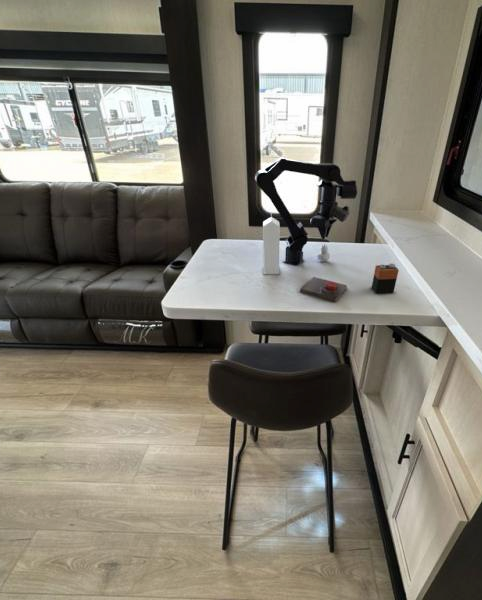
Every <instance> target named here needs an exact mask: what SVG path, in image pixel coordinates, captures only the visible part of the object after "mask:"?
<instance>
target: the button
mask: <svg viewBox="0 0 482 600" xmlns="http://www.w3.org/2000/svg"><path fill="white" fill-rule="evenodd" d="M336 283H337V282H336ZM336 283H335V281H332V282H326V287H325V288H326V289H327V290H336V286H337V284H336Z"/></svg>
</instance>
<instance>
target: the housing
mask: <svg viewBox="0 0 482 600" xmlns="http://www.w3.org/2000/svg"><path fill="white" fill-rule="evenodd" d="M326 282H333V281H332V280H328V279H325V278H320V277H316V276H312V278H310V280H308V281H307V282H305V284H304V285H302V286H301V287H300V288H299V293H302V294H305V295H309V296H312V297H316V298H319V299H323V300H326V301H329V302H333V303H337V301H338V299H340V297H341V296H342V295H343V294H344V293H345V291H346V290H347V287H348V285H347V284H344V283H340V282H335V281H334V282H335V283H336V284H337V286H336V290H327V289H326V288H325V287H326Z"/></svg>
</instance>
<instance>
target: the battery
mask: <svg viewBox="0 0 482 600" xmlns="http://www.w3.org/2000/svg"><path fill="white" fill-rule="evenodd" d="M398 275H399V268H398V267H397V266H396V264H395V263H389V264H379V265H375V267H374V273H373V278H372V283H371V289H372V291H373V292H374V293H375V294H376V295H377V294H392V293H394V292H395V288H396V285H397V279H398Z"/></svg>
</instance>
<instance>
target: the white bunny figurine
mask: <svg viewBox="0 0 482 600" xmlns="http://www.w3.org/2000/svg"><path fill="white" fill-rule="evenodd" d="M328 251H329V248H328V245H327V244H326V243H324V244H322V245H320V249H319V252H317V253H316V258H317V260H319V261H320V262H322V263H323V262H328V261H329V259H330V257H331V255H330V253H329V252H328Z"/></svg>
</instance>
